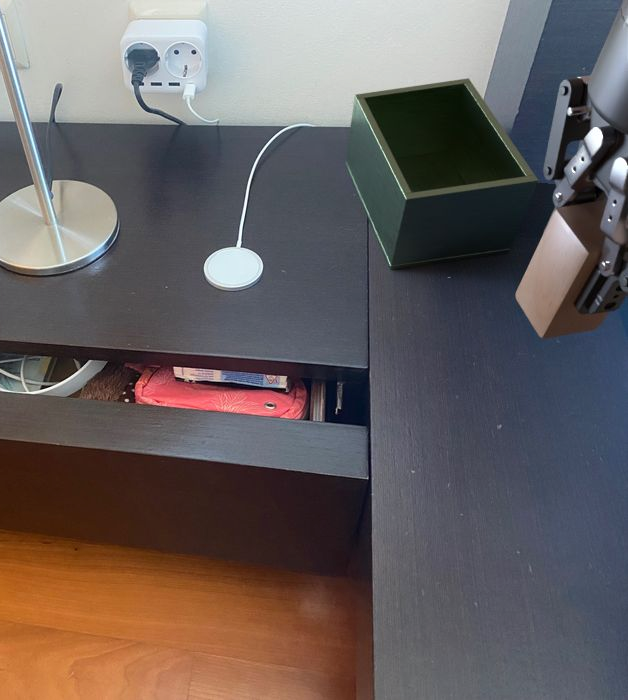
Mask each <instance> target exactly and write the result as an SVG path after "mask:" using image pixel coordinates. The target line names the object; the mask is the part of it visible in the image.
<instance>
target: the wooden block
mask: <svg viewBox="0 0 628 700" xmlns="http://www.w3.org/2000/svg"><path fill="white" fill-rule="evenodd" d="M607 200H608V198H607V199H606V198H605V199H603V200H600V201H595V202H589V203H584V204H578V205H572V206H567V207H561V208H558V209H557V210H555V211H554V212H553V211H552V212H553V215H552V217H551V216H550V217H551V219H550V218H549V220H550V221H549V220H548V221H549V223H548V222H547V223H548V225H547V224H546V225H547V227H546V226H545V227H546V230H545V232H544V231H543V233H544V234H543V233H542V236H541V238H540V241H539V242H538V244H537V247H536V249H535V251H534V254H533V255H532V258H531V259H530V262H529V263H528V266H527V268H526V271H525V273H524V274H523V276H522V279H521V281H520V283H519V285H518V286H517V289H516V292H515V299H516V301H517V303H518V305H519V306H520V308H521V309H522V311H523V312H524V315H525V316H526V318H527V319H528V321H529V322H530V324H531V326H532V327H533V329H534V330H535V332H536V334H537V335H538V337H540V338H542V339H545V340H546V339H551V338H556V337H562V336H568V335H573V334H578V333H584V332H589V331H590V332H591V331H594V330H596V329H598V328H599V327H601V325H602V324H603V322H604V320H605V319H606V318H607V316H608V314H609V313H610V312H603V313H596V314H590V313H589V314H579V312H578V311H577V309H576V308H575V306H574V302H575V300H576V298H577V296H578V295H579V293H580V291H581V289H582V288H583V286H584V284H585V282H586V281H587V279H588V277H589V275H590V274H591V272H592V270H593V268H594V267H595V265H598V262H599V258H600V255H601V251H602V248H603V244H604V241H605V238H606V235H605V234H604V233H603V232H601V230H600V224H601V221H602V217H603V214H604V210H605V207H606V203H607ZM626 252H628V246H627V249H626Z"/></svg>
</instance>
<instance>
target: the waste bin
mask: <svg viewBox="0 0 628 700" xmlns="http://www.w3.org/2000/svg"><path fill="white" fill-rule="evenodd" d="M344 166H345V168H346V170H347V173H348V175H349V178H350V180H351V183H352V185H353V187H354V189H355V192H356V195H357V196H358V199H359V201H360V203H361V205H362V208H363V210H364V212H365V214H366V217H367V219H368V222H369V224H370V226H371V229H372V231H373V233H374V236H375V238H376V240H377V243H378V245H379V248H380V250H381V252H382V254H383V257H384V259H385V261H386V264H387V266H388V268H389V270H390V271H392V270H398V269H405V268H412V267H419V266H428V265H433V264H439V263H448V262H454V261H461V260H468V259H476V258H482V257H489V256H495V255H502V254H509V253H510V251H511V248H512V246H513V243H514V241H515V239H516V237H517V233H518V231H519V228H520V226H521V224H522V221H523V218H524V216H525V215H526V212H527V209H528V207H529V204H530V201H531V199H532V196H533V194H534V191H535V189H536V187H537V184H538V182H539V179H538V177H537V176H536V175H535V173H534V172H533V170H532V169H531V167H530V166H529V164H528V163H527V162H526V160H525V158H524V157H523V156H522V154H521V153H520V151H519V149H518V148H517V147H516V145H515V144H514V143H513V141H512V140H511V138H510V137H509V135H508V133H507V132H506V131H505V129H504V128H503V126H502V125H501V124H500V122H499V121H498V119H497V117H496V116H495V115H494V113H493V112H492V110H491V109H490V107H489V106H488V104H487V103H486V101H485V100H484V98H483V97H482V96H481V93H479V91H478V90H477V88H476V87H475V86H474V83H473V82H472V80H471V79H470V78H461V79H454V80H448V81H447V80H446V81H440V82H433V83H426V84H420V85H419V84H418V85H413V86H405V87H399V88H392V89H387V90H386V89H385V90H378V91H377V90H376V91H371V92H365V93H357V94H354V99H353V106H352V113H351V119H350V127H349V135H348V142H347V150H346V158H345V164H344Z"/></svg>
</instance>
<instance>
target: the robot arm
mask: <svg viewBox="0 0 628 700" xmlns="http://www.w3.org/2000/svg"><path fill="white" fill-rule="evenodd" d="M592 69H593V70H592V72H591V73H590V74H589V75H583V76H577V77H574V78H573V77H572V78H566V79H563V80H562V81H561V82H560V84H559V88H558V91H557V92H558V93H557V97H556V102H555V107H554V113H553V116H552V117H553V118H552V123H551V128H550V131H549V132H550V133H549V137H548V143H547V148H546V151H545V152H546V153H545V158H544V163H543V169H542V170H543V171H542V172H543V176H544V179H545V180H546V181H548V182H551V181H554V183H555V189H554V190H553V192H552V203H553V205H554V208H553V211H552V212H551V215H550V217H549V220H547V224H546V225H545V227H544V229H543V233H542V235H543V234H544V232H545V230H546V227H547V225H548V223H549V221H550V219H551V217H552V215H553V212H554V211H555V210H557V209H558V208H561V207H567V206H572V205H578V204H584V203H589V202H595V201H600V200H605V199H606V198H607V199H608V200H607V203H606V207H605V210H604V214H603V217H602V221H601V224H600V230H601V232H603V233H604V234H605V235H606V238H605V241H604V244H603V248H602V251H601V255H600V258H599V262H598V265H595V267H594V268H593V270H592V272H591V274H590V275H589V277H588V279H587V281H586V282H585V284H584V286H583V288H582V289H581V291H580V293H579V295H578V296H577V298H576V300H575V302H574V306H575V308H576V309H577V311H578V312H579V314H589V313H590V314H596V313H603V312H609V313H611V312H615V311H616V310H619V309H620V307H621V306H622V305H623V303H624V302H625V300H626V299H627V297H628V252H626V249H627V246H628V0H622V2H621V5H620V7H619V10H618V12H617V14H616V16H615V18H614V21H613V24H612V25H611V27H610V31H609V33H608V35H607V38H606V39H605V41H604V45H603V46H602V49H601V50H600V53H599V55H598V58H597V60H596V62H595V65H594V66H593V68H592ZM573 142H579V144H578V147H577V152H576V153H575V154H574V156H572V157H571V156H570V157H566V154H567V151H568V150H567V149H568V146H569V144H570V143H573Z"/></svg>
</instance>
